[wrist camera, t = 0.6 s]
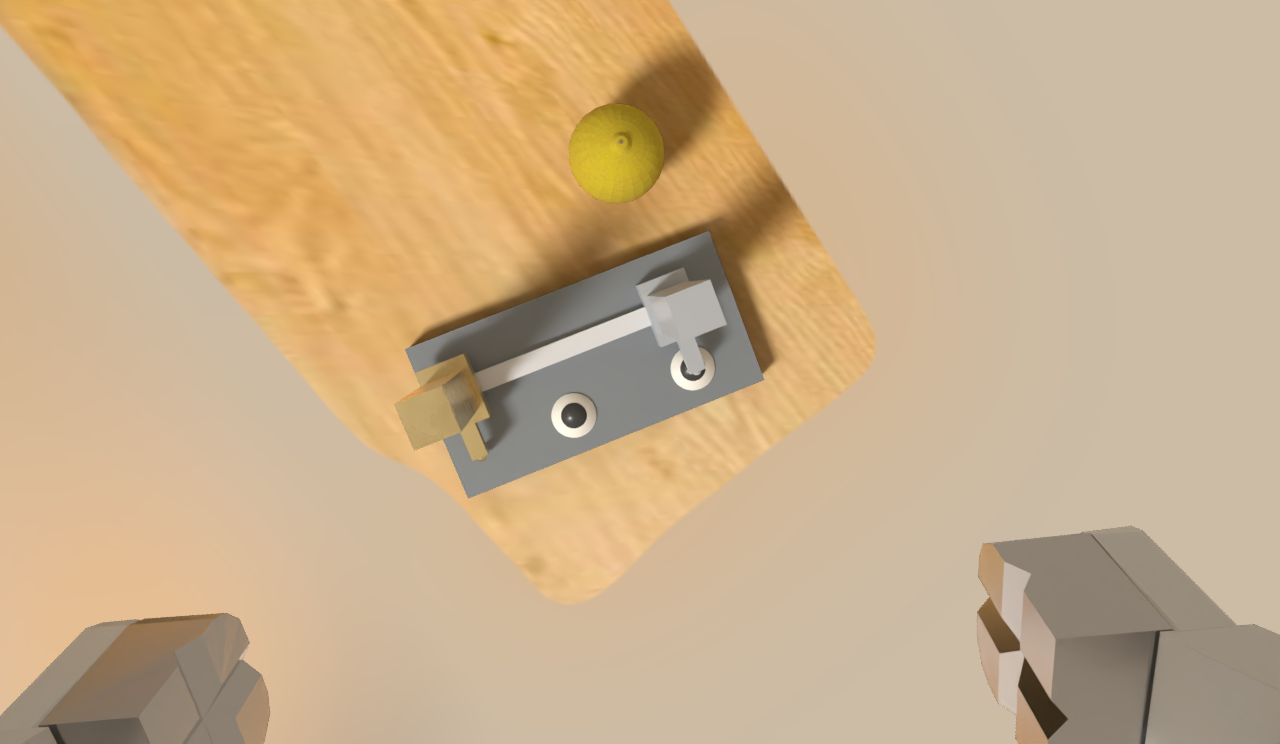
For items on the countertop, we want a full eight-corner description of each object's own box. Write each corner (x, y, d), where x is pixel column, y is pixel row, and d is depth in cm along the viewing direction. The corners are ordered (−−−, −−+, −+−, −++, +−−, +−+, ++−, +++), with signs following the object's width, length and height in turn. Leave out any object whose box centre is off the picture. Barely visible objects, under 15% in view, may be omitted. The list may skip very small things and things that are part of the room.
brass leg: (420, 369, 50) (381, 391, 39) (467, 351, 50) (441, 367, 39) (461, 466, 51) (434, 513, 40) (507, 448, 51) (492, 490, 40)
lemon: (635, 106, 52) (648, 72, 44) (669, 189, 53) (688, 171, 45) (553, 139, 52) (552, 112, 44) (589, 223, 52) (594, 211, 44)
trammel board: (409, 347, 52) (363, 363, 40) (704, 232, 53) (746, 215, 41) (470, 492, 53) (444, 550, 41) (758, 377, 54) (813, 401, 42)
